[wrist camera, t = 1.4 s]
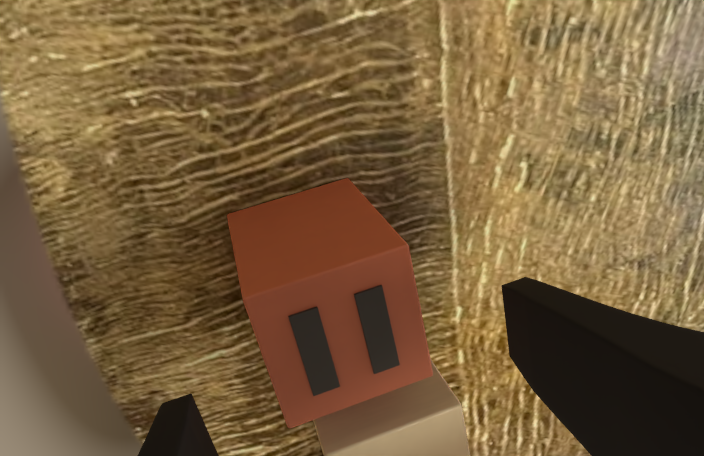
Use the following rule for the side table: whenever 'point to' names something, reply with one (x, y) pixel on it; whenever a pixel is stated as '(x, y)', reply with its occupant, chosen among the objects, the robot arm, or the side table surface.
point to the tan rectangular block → (399, 423)
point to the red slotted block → (329, 299)
